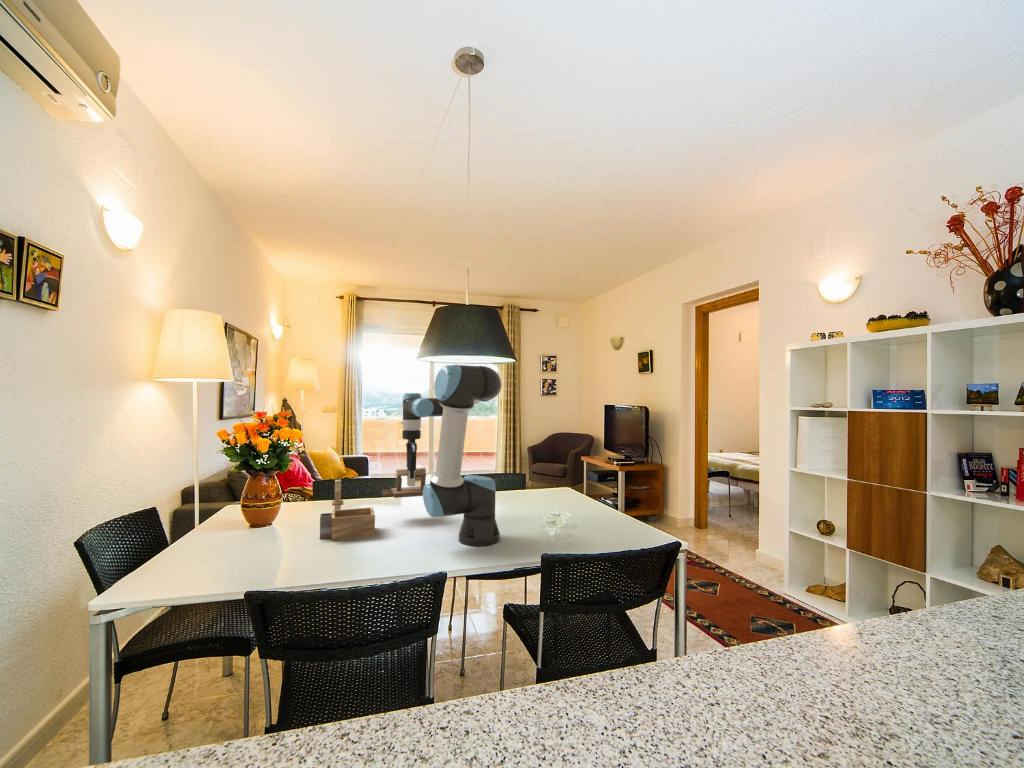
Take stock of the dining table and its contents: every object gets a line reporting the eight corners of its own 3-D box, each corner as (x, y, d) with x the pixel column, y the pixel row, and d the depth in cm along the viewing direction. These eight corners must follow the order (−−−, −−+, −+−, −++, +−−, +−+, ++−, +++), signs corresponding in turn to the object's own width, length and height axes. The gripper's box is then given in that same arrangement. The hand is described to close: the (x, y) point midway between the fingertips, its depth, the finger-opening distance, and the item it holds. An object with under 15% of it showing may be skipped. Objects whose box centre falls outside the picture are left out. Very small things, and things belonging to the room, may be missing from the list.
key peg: (343, 520, 195) (343, 480, 195) (331, 521, 193) (332, 481, 194) (342, 517, 199) (343, 478, 199) (331, 518, 198) (332, 479, 198)
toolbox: (374, 536, 174) (374, 515, 174) (319, 542, 167) (319, 519, 167) (372, 527, 185) (372, 507, 185) (320, 532, 178) (320, 511, 178)
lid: (431, 495, 194) (431, 470, 194) (384, 498, 187) (384, 473, 187) (426, 489, 205) (426, 466, 205) (381, 492, 199) (381, 468, 199)
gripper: (400, 428, 203) (399, 482, 203) (405, 431, 189) (404, 489, 189) (417, 427, 206) (417, 481, 205) (423, 430, 192) (423, 488, 191)
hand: (411, 485), depth 197 cm, fingers closed on lid, 2 cm apart
